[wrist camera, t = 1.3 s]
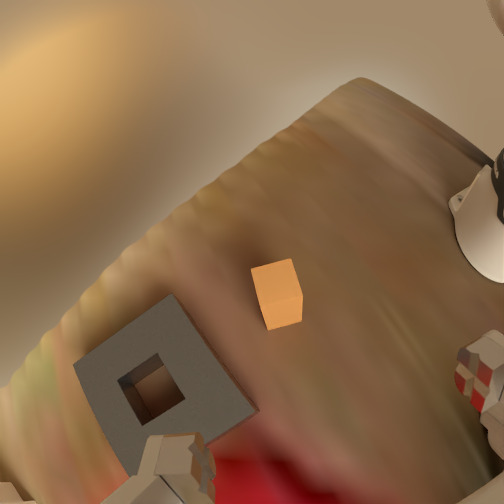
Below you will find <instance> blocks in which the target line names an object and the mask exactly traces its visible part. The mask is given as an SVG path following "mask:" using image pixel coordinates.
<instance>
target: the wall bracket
mask: <svg viewBox="0 0 504 504" xmlns="http://www.w3.org/2000/svg"><path fill="white" fill-rule="evenodd" d="M499 402H500V401H499ZM499 402H498V403H496V404H495V405H493V406H492V407H490V408H489V409H487V410H486V411H484V412H483V413H481V417H480V423H481V424H482V425H484V426H485V427H486V428H487V429H488V441H489V444H490V446H491V448H492V449H493V450H494V451H495V452H496V453H497V454H498V455H499V456H500V457H501V459H502V460H503V461H504V404H501V403H499ZM503 471H504V470H503Z"/></svg>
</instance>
